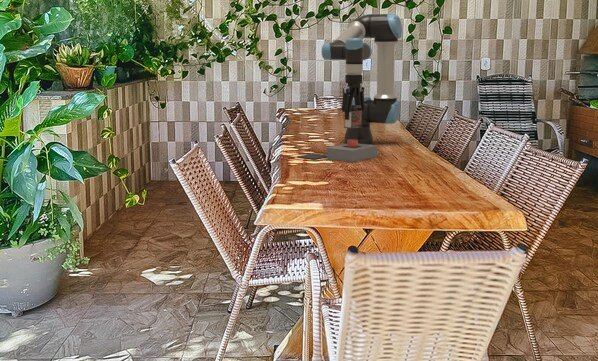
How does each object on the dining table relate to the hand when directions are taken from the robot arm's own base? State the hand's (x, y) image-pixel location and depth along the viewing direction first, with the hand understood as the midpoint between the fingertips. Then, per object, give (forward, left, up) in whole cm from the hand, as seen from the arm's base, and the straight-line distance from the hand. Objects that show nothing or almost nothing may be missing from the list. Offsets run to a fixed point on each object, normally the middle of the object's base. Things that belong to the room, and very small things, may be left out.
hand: (352, 126), depth 311 cm
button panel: (0, 0, -14) cm, 14 cm away
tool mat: (+10, -14, -14) cm, 22 cm away
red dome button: (0, 0, -11) cm, 11 cm away
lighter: (0, 0, -1) cm, 1 cm away
